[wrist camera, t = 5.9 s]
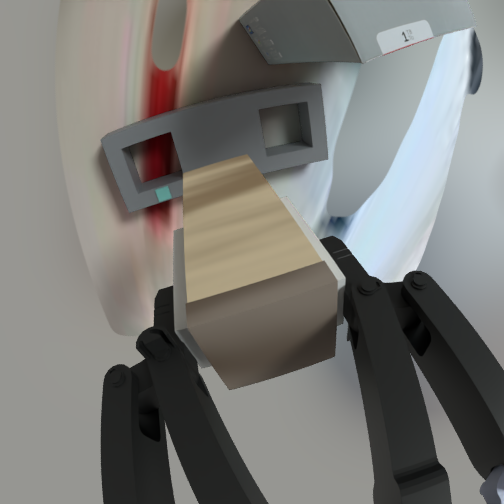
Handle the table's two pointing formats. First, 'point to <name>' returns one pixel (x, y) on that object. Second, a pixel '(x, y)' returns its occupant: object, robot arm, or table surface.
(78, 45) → the table surface
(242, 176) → the plug
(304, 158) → the socket strip
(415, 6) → the hard drive box
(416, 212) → the table surface
